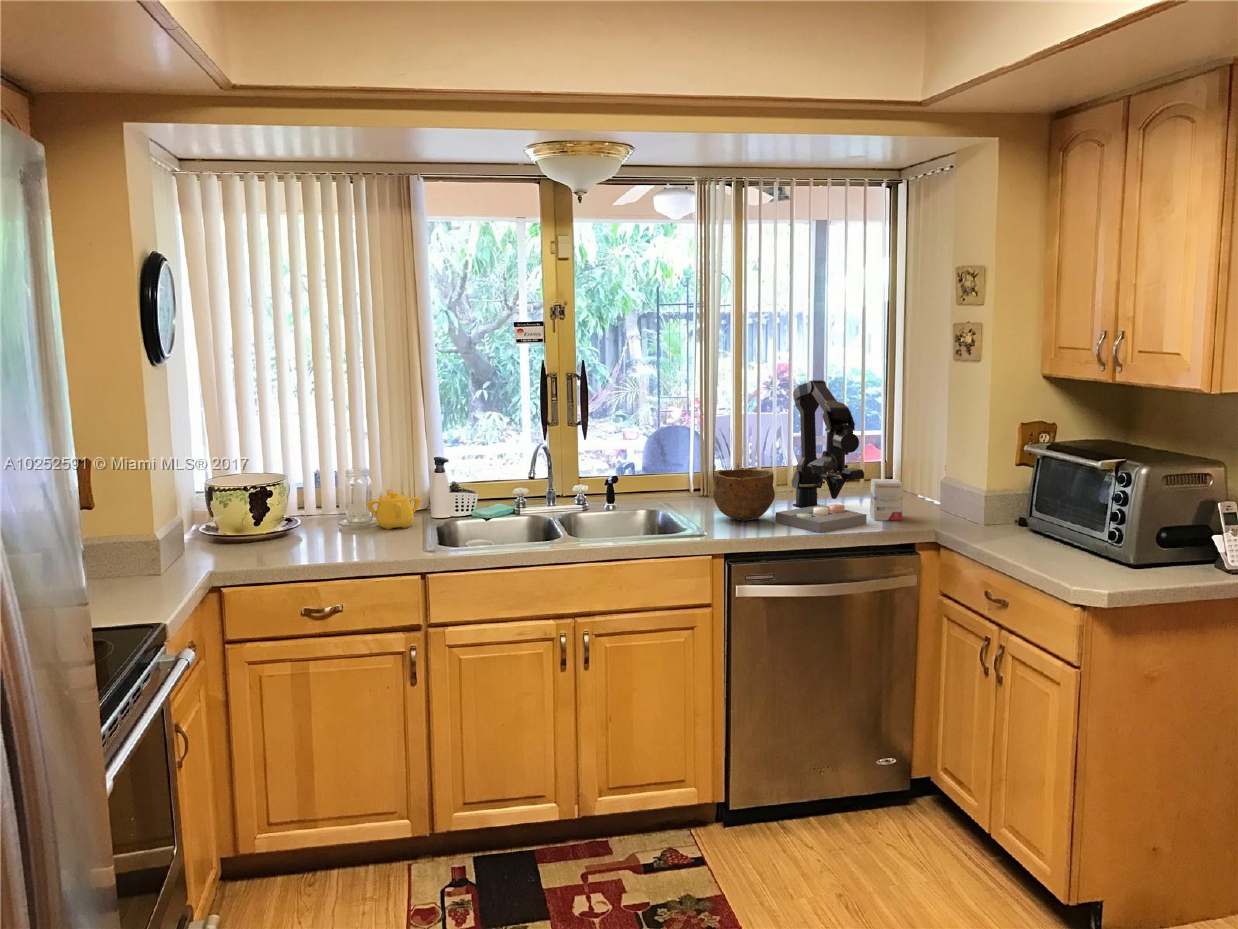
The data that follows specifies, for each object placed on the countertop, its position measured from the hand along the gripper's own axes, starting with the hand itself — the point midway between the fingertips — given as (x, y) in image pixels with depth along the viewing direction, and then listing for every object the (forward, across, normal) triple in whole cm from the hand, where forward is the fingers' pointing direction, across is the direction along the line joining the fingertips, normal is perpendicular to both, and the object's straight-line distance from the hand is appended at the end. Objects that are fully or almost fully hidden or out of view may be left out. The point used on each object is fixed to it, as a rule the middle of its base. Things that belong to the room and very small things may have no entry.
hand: (834, 498), depth 295 cm
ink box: (+7, +6, +16) cm, 19 cm away
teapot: (+7, -67, -114) cm, 133 cm away
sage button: (+6, 0, -13) cm, 14 cm away
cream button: (+5, 0, -6) cm, 8 cm away
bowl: (+7, -16, -22) cm, 28 cm away
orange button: (+5, 0, +1) cm, 5 cm away
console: (+7, 0, -6) cm, 9 cm away
